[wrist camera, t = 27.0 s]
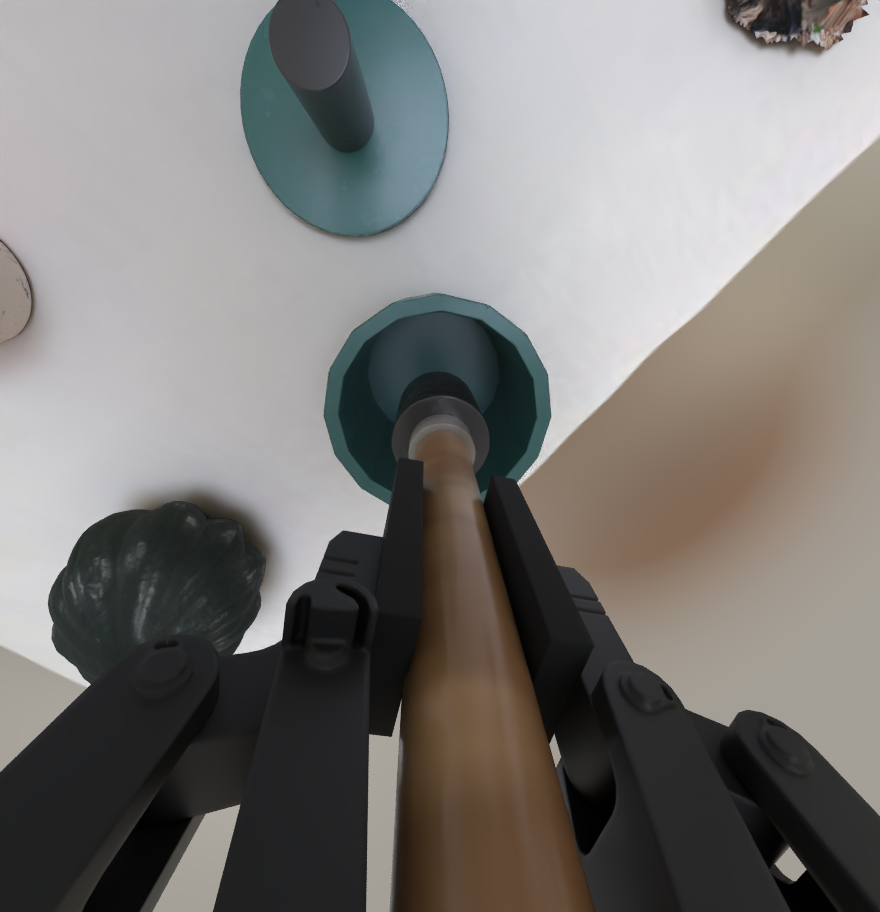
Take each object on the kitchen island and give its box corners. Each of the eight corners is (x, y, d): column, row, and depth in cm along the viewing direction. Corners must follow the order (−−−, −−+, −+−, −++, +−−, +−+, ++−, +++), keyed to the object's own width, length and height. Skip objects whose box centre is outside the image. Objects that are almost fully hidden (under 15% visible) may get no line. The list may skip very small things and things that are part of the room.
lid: (242, 211, 29) (155, 173, 20) (253, -37, 25) (147, -240, 15) (425, 256, 31) (426, 241, 21) (468, 30, 26) (493, -118, 17)
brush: (393, 436, 25) (241, 1124, 4) (407, 363, 23) (275, 890, 3) (465, 451, 25) (636, 1129, 5) (483, 380, 24) (852, 931, 3)
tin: (350, 427, 36) (313, 494, 24) (372, 277, 31) (341, 269, 20) (486, 454, 37) (514, 530, 25) (525, 314, 33) (581, 326, 21)
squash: (35, 627, 35) (54, 793, 26) (45, 471, 31) (72, 607, 22) (215, 589, 46) (272, 698, 37) (241, 468, 41) (314, 559, 32)
